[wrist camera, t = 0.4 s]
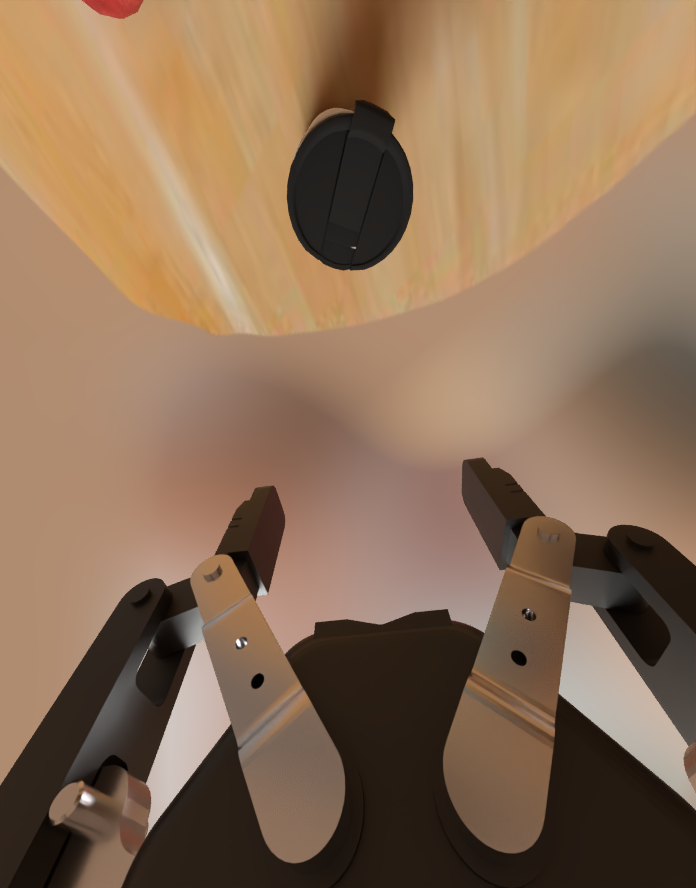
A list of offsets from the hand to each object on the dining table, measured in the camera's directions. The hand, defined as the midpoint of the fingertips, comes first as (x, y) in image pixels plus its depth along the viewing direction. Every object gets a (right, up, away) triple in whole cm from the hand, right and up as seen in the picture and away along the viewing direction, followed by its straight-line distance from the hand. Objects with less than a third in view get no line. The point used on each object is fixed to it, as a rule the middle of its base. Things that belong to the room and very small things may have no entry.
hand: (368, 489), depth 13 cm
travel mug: (-2, +28, +15) cm, 32 cm away
